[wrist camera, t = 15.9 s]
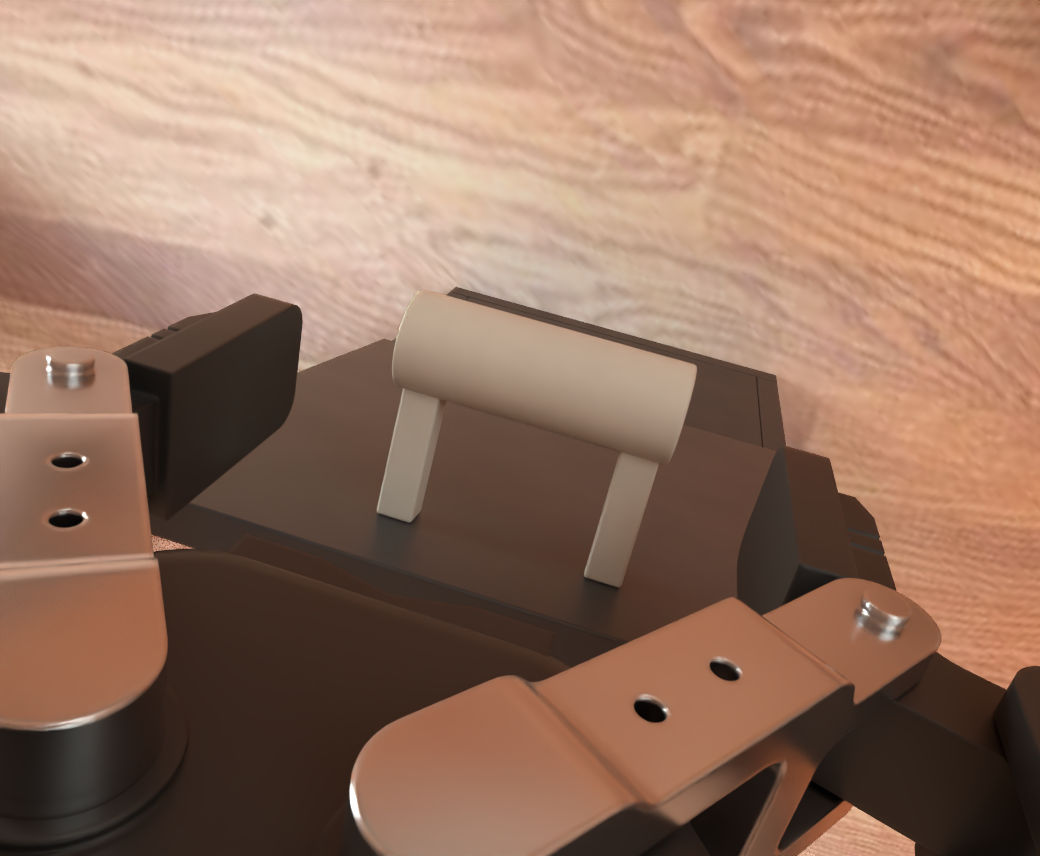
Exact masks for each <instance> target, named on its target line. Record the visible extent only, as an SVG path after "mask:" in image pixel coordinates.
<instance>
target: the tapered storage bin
mask: <svg viewBox="0 0 1040 856" xmlns="http://www.w3.org/2000/svg"><path fill="white" fill-rule="evenodd" d="M447 296H450V297H454V298H457V299H461V300H465V301H468V302H472V303H475V304H479V305H483V306H486V307H490V308H493V309H497V310H501V311H504V312H508V313H511V314H515V315H519V316H522V317H526V318H529V319H533V320H537V321H540V322H544V323H547V324H551V325H555V326H558V327H562V328H565V329H569V330H573V331H576V332H580V333H583V334H587V335H591V336H594V337H598V338H601V339H605V340H609V341H612V342H616V343H619V344H623V345H627V346H630V347H634V348H637V349H641V350H645V351H648V352H652V353H655V354H659V355H663V356H666V357H670V358H673V359H677V360H681V361H684V362H688V363H691V364H695V365H696V366H697V374H696V379H695V384H694V388H693V392H692V396H691V399H690V403H689V407H688V410H687V414H686V417H685V420H684V424H683V425H686V426H690V427H693V428H697V429H700V430H704V431H707V432H711V433H714V434H718V435H721V436H725V437H728V438H732V439H735V440H739V441H742V442H746V443H749V444H753V445H756V446H760V447H763V448H767V449H770V450H774V451H777V450H778V448H779V447H780V446H781V445H784V446H786V442H785V435H784V429H783V422H782V415H781V409H780V402H779V395H778V389H777V381H776V376H775V375H772V374H769V373H765V372H761V371H758V370H754V369H751V368H747V367H743V366H740V365H736V364H732V363H729V362H725V361H722V360H718V359H714V358H711V357H707V356H703V355H700V354H696V353H693V352H689V351H685V350H682V349H678V348H675V347H671V346H667V345H664V344H660V343H656V342H653V341H649V340H646V339H642V338H638V337H635V336H631V335H627V334H624V333H620V332H617V331H613V330H609V329H606V328H602V327H599V326H595V325H591V324H588V323H584V322H580V321H577V320H573V319H570V318H566V317H562V316H559V315H555V314H551V313H548V312H544V311H541V310H537V309H533V308H530V307H526V306H523V305H519V304H515V303H512V302H508V301H504V300H501V299H497V298H494V297H490V296H486V295H483V294H479V293H475V292H472V291H468V290H465V289H461V288H457V287H455V288H454V289H453V290H452V291H451V292H450V293H449V294H448V295H447ZM393 342H396V338H395V339H394V340H393Z"/></svg>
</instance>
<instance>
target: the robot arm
mask: <svg viewBox="0 0 1040 856" xmlns="http://www.w3.org/2000/svg"><path fill="white" fill-rule="evenodd" d="M301 332H302V313H301V310H300V308H299V307H298V306H297V305H293V304H290V303H286V302H283V301H279V300H276V299H272V298H269V297H265V296H262V295H258V294H252V295H250V296H248V297H246V298H244V299H242V300H240V301H238V302H236V303H234V304H232V305H230V306H228V307H226V308H224V309H222V310H220V311H218V312H214V313H208V314H202V315H197V316H191V317H187V318H185V319H183V320H181V321H179V322H177V323H175V324H173V325H171V326H169V327H168V329H162V330H160V331H158V332H156V333H154V334H152V336H151V337H146V338H144V339H142V340H139V341H137V342H135V343H133V344H131V345H129V346H127V347H125V348H123V349H121V350H119V351H116V352H114V353H112V354H111V353H108V352H105V351H102V350H98V349H92V348H85V347H73V346H61V347H49V348H43V349H38V350H34V351H31V352H28V353H25V354H23V355H21V356H20V357H18V358H17V359H16V360H15V361H14V362H13V364H12V367H11V373H3V372H0V856H798V855H799V854H800V853H801V852H802V851H803V850H805V849H806V848H807V847H808V846H809V845H811V844H812V843H813V842H814V841H815V840H816V839H818V838H819V837H820V836H821V835H822V834H823V833H825V832H826V831H827V830H828V829H829V828H831V827H832V826H833V825H834V824H835V823H836V822H838V821H839V820H840V819H841V818H842V817H844V816H845V815H846V814H847V813H848V812H849V811H850V809H851V808H852V806H855V807H857V808H858V809H860V810H862V811H863V812H865V813H867V814H868V815H870V816H872V817H874V818H875V819H877V820H879V821H880V822H882V823H884V824H885V825H887V826H889V827H891V828H892V829H894V830H896V831H897V832H899V833H901V834H902V835H904V836H906V837H908V838H909V839H911V840H913V841H914V842H916V843H915V856H1040V666H1031V667H1026V668H1023V669H1021V670H1020V671H1018V672H1017V674H1016V675H1015V677H1014V679H1013V680H1012V682H1011V684H1010V685H1009V687H1008V689H1007V690H1006V689H1004V688H1002V687H1000V686H998V685H996V684H994V683H992V682H990V681H987V680H985V679H983V678H981V677H979V676H977V675H975V674H973V673H971V672H969V671H967V670H965V669H963V668H962V667H960V666H958V665H956V664H954V663H952V662H951V661H949V660H948V659H946V658H944V657H943V656H941V655H940V654H939V653H937V652H936V651H937V649H938V648H939V646H940V643H941V633H940V630H939V628H938V626H937V624H936V623H935V621H934V620H933V619H932V617H931V616H930V615H929V614H928V613H927V612H926V611H925V610H924V609H922V608H921V607H920V606H919V605H917V604H916V603H915V602H913V601H912V600H910V599H909V598H907V597H906V596H904V595H902V594H900V593H899V592H897V591H896V587H895V584H894V581H893V578H892V575H891V571H890V568H889V565H888V562H887V558H886V556H884V553H885V552H884V549H883V546H882V542H881V541H880V540H879V538H880V536H879V533H878V529H877V526H876V523H875V520H874V517H873V516H872V515H871V514H870V513H869V512H868V511H867V510H866V509H865V508H864V507H863V506H862V504H861V503H860V502H859V501H858V500H857V499H856V498H855V497H852V496H848V495H845V494H842V493H838V491H837V487H836V483H835V479H834V474H833V470H832V466H831V462H830V459H829V458H826V457H823V456H819V455H816V454H812V453H809V452H805V451H802V450H798V449H795V448H791V447H788V446H784V445H781V446H780V447H779V448H778V450H777V451H776V453H775V455H774V458H773V460H772V462H771V465H770V467H769V470H768V473H767V475H766V478H765V480H764V483H763V486H762V488H761V491H760V493H759V496H758V499H757V501H756V504H755V506H754V509H753V511H752V514H751V517H750V519H749V522H748V524H747V527H746V530H745V532H744V535H743V539H742V542H741V546H740V550H739V555H738V560H737V598H735V597H731V598H727V599H724V600H722V601H720V602H718V603H715V604H713V605H711V606H709V607H706V608H704V609H702V610H700V611H697V612H695V613H693V614H691V615H689V616H686V617H684V618H682V619H680V620H677V621H675V622H673V623H671V624H668V625H666V626H664V627H662V628H660V629H657V630H655V631H653V632H651V633H648V634H646V635H644V636H642V637H639V638H637V639H635V640H633V641H630V642H628V643H626V644H624V645H622V646H619V647H617V648H615V649H613V650H610V651H608V652H606V653H604V654H601V655H599V656H597V657H595V658H593V659H590V660H588V661H586V662H584V663H581V664H579V665H577V666H575V667H572V668H570V667H569V666H567V665H566V664H564V663H563V662H561V661H559V660H558V659H556V658H554V657H552V656H550V652H551V648H552V645H553V642H554V638H555V635H556V632H553V631H550V630H546V629H543V628H540V627H537V626H534V625H531V624H528V623H525V622H521V621H518V620H515V619H512V618H509V617H506V616H503V615H500V614H496V613H493V612H490V611H487V610H484V609H481V608H478V607H471V606H464V605H458V604H451V603H444V602H437V601H430V600H424V599H417V598H410V597H403V596H397V595H392V594H389V593H387V592H384V591H382V590H380V589H379V588H377V587H375V586H373V585H371V584H369V583H367V582H366V581H364V580H362V579H360V578H358V577H356V576H354V575H353V574H351V573H349V572H347V571H345V570H343V569H341V568H340V567H338V566H336V565H334V564H332V563H330V562H328V561H327V560H325V559H323V558H321V557H319V556H315V555H312V554H309V553H306V552H303V551H300V550H297V549H294V548H290V547H287V546H284V545H281V544H278V543H275V542H272V541H269V540H265V539H262V538H259V537H256V536H253V535H250V534H247V533H246V534H245V535H244V536H243V537H242V538H241V539H240V540H239V541H238V542H237V543H236V544H235V545H234V546H233V547H232V548H231V549H230V550H229V551H221V550H210V549H175V550H162V551H156V552H153V545H152V536H151V527H150V518H149V515H150V516H153V517H156V518H159V519H162V520H165V521H168V520H169V519H170V518H171V517H173V516H174V515H175V514H176V513H177V512H179V511H180V510H181V509H182V508H183V507H185V506H186V505H187V504H188V503H190V502H191V501H192V500H193V499H194V498H196V497H197V496H198V495H199V494H200V493H202V492H203V491H204V490H205V489H207V488H208V487H209V486H210V485H211V484H213V483H214V482H215V481H216V480H217V479H219V478H220V477H221V476H222V475H224V474H225V473H226V472H227V471H228V470H230V469H231V468H232V467H233V466H235V465H236V464H237V463H238V462H239V461H241V460H242V459H243V458H244V457H245V456H247V455H248V454H249V453H250V452H252V451H253V450H254V449H255V448H256V447H258V446H259V445H260V444H261V443H262V442H264V441H265V440H266V439H267V438H269V437H270V436H271V435H272V434H273V433H275V432H276V431H277V430H278V429H279V428H280V427H281V426H282V425H283V424H284V422H285V421H286V419H287V417H288V415H289V413H290V411H291V408H292V405H293V402H294V397H295V390H296V380H297V371H298V361H299V351H300V342H301Z"/></svg>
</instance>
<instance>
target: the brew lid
mask: <svg viewBox="0 0 1040 856" xmlns="http://www.w3.org/2000/svg"><path fill="white" fill-rule="evenodd" d="M696 374H697V366H696V365H695V364H691V363H688V362H684V361H681V360H677V359H673V358H670V357H666V356H663V355H659V354H655V353H652V352H648V351H645V350H641V349H637V348H634V347H630V346H627V345H623V344H619V343H616V342H612V341H609V340H605V339H601V338H598V337H594V336H591V335H587V334H583V333H580V332H576V331H573V330H569V329H565V328H562V327H558V326H555V325H551V324H547V323H544V322H540V321H537V320H533V319H529V318H526V317H522V316H519V315H515V314H511V313H508V312H504V311H501V310H497V309H493V308H490V307H486V306H483V305H479V304H475V303H472V302H468V301H465V300H461V299H457V298H454V297H450V296H447V295H443V294H439V293H436V292H432V291H429V290H420V291H419V292H417V293H416V294H415V296H414V297H413V298H412V300H411V302H410V303H409V305H408V307H407V309H406V311H405V314H404V316H403V319H402V321H401V324H400V327H399V330H398V334H397V338H396V342H393V341H390V340H386V339H382V340H380V341H377V342H375V343H372V344H370V345H367V346H364V347H362V348H359V349H357V350H354V351H352V352H349V353H347V354H344V355H341V356H339V357H336V358H334V359H331V360H329V361H326V362H323V363H321V364H318V365H316V366H313V367H311V368H308V369H306V370H303V371H300V372H298V373H297V380H296V390H295V397H294V402H293V405H292V408H291V411H290V413H289V415H288V417H287V419H286V421H285V422H284V424H283V425H282V426H281V427H280V428H279V429H278V430H277V431H276V432H275V433H273V434H272V435H271V436H270V437H269V438H267V439H266V440H265V441H264V442H262V443H261V444H260V445H259V446H258V447H256V448H255V449H254V450H253V451H252V452H250V453H249V454H248V455H247V456H245V457H244V458H243V459H242V460H241V461H239V462H238V463H237V464H236V465H235V466H233V467H232V468H231V469H230V470H228V471H227V472H226V473H225V474H224V475H222V476H221V477H220V478H219V479H217V480H216V481H215V482H214V483H213V484H211V485H210V486H209V487H208V488H207V489H205V490H204V491H203V492H202V493H200V494H199V495H198V496H197V497H196V498H194V499H193V500H192V501H191V502H190V503H188V504H187V505H186V506H185V507H183V508H182V509H181V510H180V511H179V512H177V513H176V514H175V515H174V516H173V517H171V518H170V519H169V520H168V521H165V520H162V519H159V518H156V517H153V516H150V515H149V518H150V527H151V535H154V536H158V537H161V538H164V539H167V540H170V541H173V542H176V543H179V544H182V545H185V546H188V547H192V548H195V549H210V550H221V551H229V550H230V549H231V548H232V547H233V546H234V545H235V544H236V543H237V542H238V541H239V540H240V539H241V538H242V537H243V536H244V535H245V534H246V533H247V534H250V535H253V536H256V537H259V538H262V539H265V540H269V541H272V542H275V543H278V544H281V545H284V546H287V547H290V548H294V549H297V550H300V551H303V552H306V553H309V554H312V555H315V556H319V557H321V558H323V559H325V560H327V561H328V562H330V563H332V564H334V565H336V566H338V567H340V568H341V569H343V570H345V571H347V572H349V573H351V574H353V575H354V576H356V577H358V578H360V579H362V580H364V581H366V582H367V583H369V584H371V585H373V586H375V587H377V588H379V589H380V590H382V591H384V592H387V593H389V594H392V595H397V596H403V597H410V598H417V599H424V600H430V601H437V602H444V603H451V604H458V605H464V606H471V607H478V608H481V609H484V610H487V611H490V612H493V613H496V614H500V615H503V616H506V617H509V618H512V619H515V620H518V621H521V622H525V623H528V624H531V625H534V626H537V627H540V628H543V629H546V630H550V631H553V632H556V635H555V638H554V642H553V645H552V648H551V652H550V656H552V657H554V658H556V659H558V660H559V661H561V662H563V663H564V664H566V665H567V666H569V667H570V668H572V667H575V666H577V665H579V664H581V663H584V662H586V661H588V660H590V659H593V658H595V657H597V656H599V655H601V654H604V653H606V652H608V651H610V650H613V649H615V648H617V647H619V646H622V645H624V644H626V643H628V642H630V641H633V640H635V639H637V638H639V637H642V636H644V635H646V634H648V633H651V632H653V631H655V630H657V629H660V628H662V627H664V626H666V625H668V624H671V623H673V622H675V621H677V620H680V619H682V618H684V617H686V616H689V615H691V614H693V613H695V612H697V611H700V610H702V609H704V608H706V607H709V606H711V605H713V604H715V603H718V602H720V601H722V600H724V599H727V598H731V597H735V598H737V560H738V555H739V550H740V546H741V542H742V539H743V535H744V532H745V530H746V527H747V524H748V522H749V519H750V517H751V514H752V511H753V509H754V506H755V504H756V501H757V499H758V496H759V493H760V491H761V488H762V486H763V483H764V480H765V478H766V475H767V473H768V470H769V467H770V465H771V462H772V460H773V458H774V455H775V453H776V451H774V450H770V449H767V448H763V447H760V446H756V445H753V444H749V443H746V442H742V441H739V440H735V439H732V438H728V437H725V436H721V435H718V434H714V433H711V432H707V431H704V430H700V429H697V428H693V427H690V426H686V425H683V424H684V420H685V417H686V414H687V410H688V407H689V403H690V399H691V396H692V392H693V388H694V384H695V379H696Z"/></svg>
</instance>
